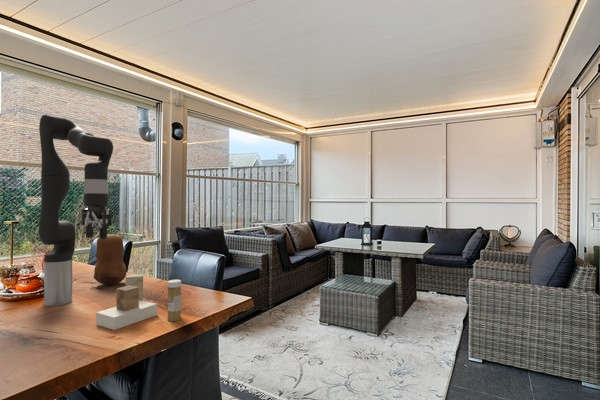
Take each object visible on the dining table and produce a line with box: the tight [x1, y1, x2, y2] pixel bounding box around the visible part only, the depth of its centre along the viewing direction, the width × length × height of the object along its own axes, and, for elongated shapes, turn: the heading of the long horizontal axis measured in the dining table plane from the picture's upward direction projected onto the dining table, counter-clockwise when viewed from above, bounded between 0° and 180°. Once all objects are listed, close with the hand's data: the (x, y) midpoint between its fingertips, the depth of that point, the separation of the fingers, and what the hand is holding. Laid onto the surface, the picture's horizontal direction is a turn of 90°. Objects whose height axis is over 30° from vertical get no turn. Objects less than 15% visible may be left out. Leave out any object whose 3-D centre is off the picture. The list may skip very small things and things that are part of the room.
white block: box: [95, 300, 158, 331], centre depth 116 cm, size 10×16×4 cm, turn 151°
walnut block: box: [115, 285, 139, 311], centre depth 116 cm, size 5×5×7 cm
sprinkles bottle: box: [166, 279, 182, 322], centre depth 116 cm, size 5×5×14 cm
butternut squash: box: [93, 233, 127, 286], centre depth 164 cm, size 14×13×25 cm
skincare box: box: [125, 273, 144, 301], centre depth 130 cm, size 6×4×12 cm
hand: (96, 238), depth 118 cm, fingers open, 8 cm apart
